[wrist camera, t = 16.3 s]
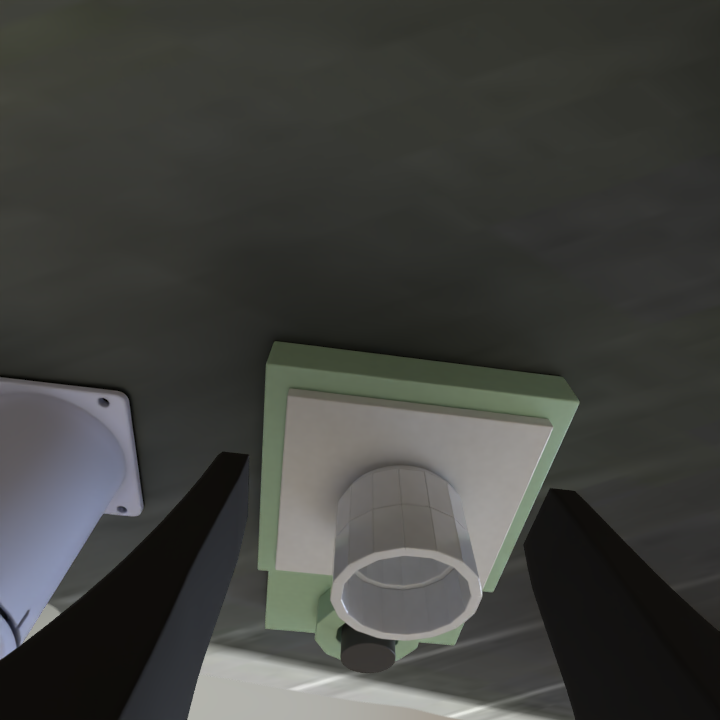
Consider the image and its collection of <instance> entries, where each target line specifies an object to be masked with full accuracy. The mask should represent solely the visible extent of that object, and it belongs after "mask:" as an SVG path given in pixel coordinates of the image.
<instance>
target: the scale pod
mask: <svg viewBox="0 0 720 720" xmlns="http://www.w3.org/2000/svg"><path fill="white" fill-rule="evenodd" d="M330 589H331V577H328V576H317V575H307V574H296V573H286V572H276V571H268V583H267V600H266V617H265V628H266V629H276V630H288V631H299V632H310V633H315V640H316V642H317V643H318V644H319V645H320V647H321V648H322V649H323V650H324V652H325V653H327V654H328V655H330V656H333V657H335V658H338V659H340V660H341V658H340V654H341V632H342V627H343V625H344V624H345V622H344V621H343V620H341V619H340V618H339V617H338V616H337V613H336V611H335V609H334V607H333V605H332V603H331V601H330ZM463 624H464V623H463ZM463 624H462V625H460V626H459V627H457V628H456V629H454V630H451V631H449V632H446V633H443V634H441V635H438V636H436V637H432V638H425V639H418V640H410V641H407V640H406V641H401V640H395V654H396V659H395V661H397V660H399V659H401V658H403V657H404V656H406V655H407V654H409V653H410V652H412V651H413V650H415V649H416V648H417V646H418V643H419V642H423V643H434V644H446V645H455V643H456V641H457V638H458V636H459V634H460V631H461V629H462V627H463Z"/></svg>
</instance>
